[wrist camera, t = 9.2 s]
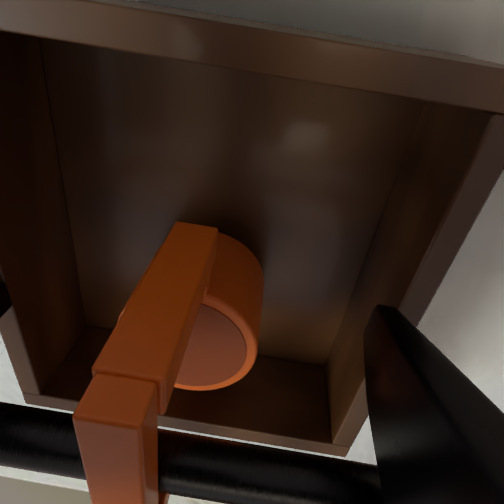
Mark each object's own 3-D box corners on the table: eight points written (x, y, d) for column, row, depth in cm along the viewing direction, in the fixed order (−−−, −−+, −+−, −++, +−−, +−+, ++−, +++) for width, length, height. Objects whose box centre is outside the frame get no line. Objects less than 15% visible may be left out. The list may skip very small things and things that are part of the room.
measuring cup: (152, 311, 16) (31, 563, 8) (150, 171, 12) (-61, 395, 5) (255, 328, 16) (224, 596, 8) (283, 193, 12) (270, 450, 5)
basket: (77, 328, 19) (25, 404, 15) (12, -20, 11) (-135, -37, 7) (335, 371, 19) (345, 458, 15) (465, 55, 11) (556, 77, 7)
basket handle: (-15, 302, 12) (-169, 446, 8) (-25, 274, 11) (-200, 415, 7) (397, 371, 12) (449, 551, 8) (410, 347, 11) (475, 529, 7)
